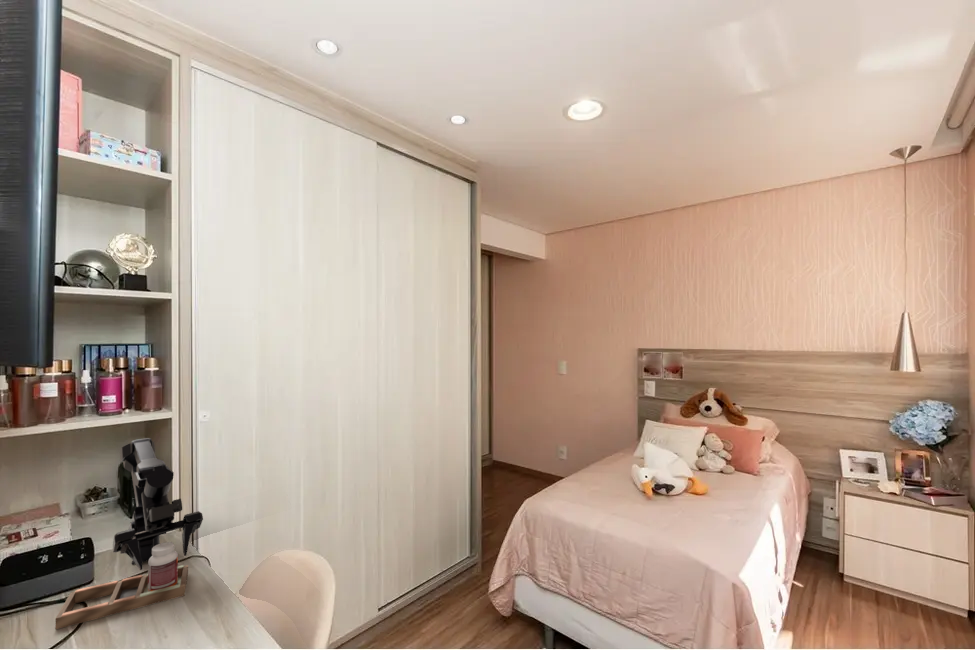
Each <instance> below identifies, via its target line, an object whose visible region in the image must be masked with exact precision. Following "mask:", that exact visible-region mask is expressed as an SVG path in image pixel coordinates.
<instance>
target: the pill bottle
mask: <svg viewBox="0 0 975 650" xmlns="http://www.w3.org/2000/svg"><path fill="white" fill-rule="evenodd" d="M178 554H179V553H178V552H177V551H176V550H175V543H174V542H172V541H165V542H161V543H160V544H158V545H156V546H154V547H153V548H152V555H153V556H151V557H150V559H149V561H147V562H148V564H147V573H148V592H150V591H154V590H158V589H162V588H166V587H170V586H174V585H177V583H178V566H179V565H178V561H179V559H178V558H179V555H178Z"/></svg>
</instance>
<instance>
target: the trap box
mask: <svg viewBox="0 0 975 650" xmlns="http://www.w3.org/2000/svg"><path fill="white" fill-rule="evenodd" d="M188 577H189V565H188V564H187V565H184V564H182V565H178V583H177V585H174V586H170V587H166V588H162V589H158V590H154V591H150V592H148V572H147V573H146V574H144V575H143V574H139V575H138V574H137V575H134V576H130V577H127V578H122V580H114V581H113V580H112V581H109V582H105V583H100V584H97V585H92V586H88V587H82V588H80V589H79V588H78V589H76V590H75V591H72V592H70V593H69V595H68V596H67V598H66V600H65V602H64V603H63V605H62V607H61V609H60V610H59V612H58V613H57V615H56V617H55V630H58V629H59V630H60V629H63V628H66V627H70V626H75V625H78V624H82V623H86V622H90V621H93V620H97V619H101V618H105V617H109V616H112V615H116V614H120V613H123V612H124V613H125V612H128V611H131V610H135V609H139V608H143V607H146V606H147V607H148V606H151V605H154V604H158V603H162V602H166V601H169V600H174V599H177V598H181V597H185V595H186V589H187V583H188ZM106 596H110V599H109V600H108V601H106V602H101V603H99V604H95V605H89V606H86V607H83V608H79V609H73V608H74V606H75V604H78V603H81V602H86V601H90V600H94V599H98V598H102V597H106Z"/></svg>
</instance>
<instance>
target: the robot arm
mask: <svg viewBox="0 0 975 650" xmlns="http://www.w3.org/2000/svg"><path fill="white" fill-rule="evenodd" d="M155 444H156V443H155V441H153V440H152V438H150V437H145V438H139V439H138V438H137V439H134V440H131V441H130V442H129V443H127V444H125V445H123V446H122V447H121V449H120V452H119V461H120V462H121V463H123V468H124V469H125V470H127V471H128V472H129V473H131V478H132V485H133V486H132V487H133V491H134V492H133V493H134V498H135V506H136V507H135V509H134V511H133V512H132V519H131V521H130V522H129V527H128V529H126V530H122V531H118V532H116V533H115V534H114V536H113V541H112V551H113V553H118V552H119V553H120V554H126V556H128V557H130V559H131V560H132V561H131V565H136V566H137V567H138V569H139V571H142V570H143V567H144V566H143V563H144V562H146V563H147V562H148V561H149V559H150V557H151V556H153V555H152V548H153V547H154V546H156V545H158V544H161V543H160V541H161V540H160V539H161V538H160V537H161V536H162V535H167V533H168V532H172V531H176V530H179V529H182V534H181V537H182V539H181V540H182V552H183V555H184V556H187V555H188V549H189V544H190V543H189V542H190V538H191V536H192V534H194V533H195V532H196V531H197V530H198V529H199V528H201V526H202V523H203V520H204V516H203V512H201V511H199V510H198V511H194V512H190V513H187V514H184V515H183V518H182V520H178V521H174V519H175V514H176V513H180V512H182V511H183V503H182V502H183V501H182V498H178V499H173V500H172V501H171V503H170V500H169V499H170V498H169V494H168V493H169V492H170V490H171V487H172V483H173V481H174V474H175V473H174V471H173V470H171V469H170V467H169V465H167V464H166V463H165V461H164V459H159V458H157V455H156V446H155ZM173 521H174V522H173Z"/></svg>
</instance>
